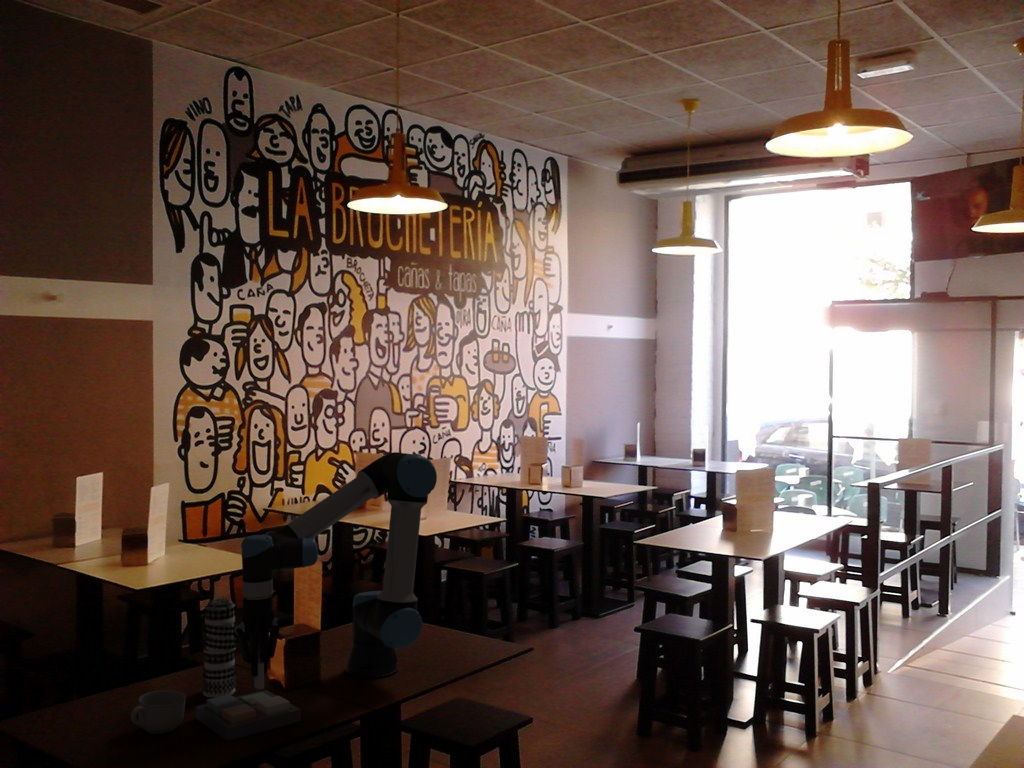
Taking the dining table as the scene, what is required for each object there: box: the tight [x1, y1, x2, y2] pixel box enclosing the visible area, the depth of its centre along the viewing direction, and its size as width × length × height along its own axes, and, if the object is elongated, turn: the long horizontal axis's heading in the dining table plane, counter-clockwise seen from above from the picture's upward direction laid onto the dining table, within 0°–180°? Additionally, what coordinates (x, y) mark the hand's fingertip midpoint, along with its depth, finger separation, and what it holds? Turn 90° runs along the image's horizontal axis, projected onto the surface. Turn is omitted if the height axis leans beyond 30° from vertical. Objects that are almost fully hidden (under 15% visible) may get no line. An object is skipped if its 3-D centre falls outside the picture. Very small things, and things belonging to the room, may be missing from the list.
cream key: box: [256, 695, 291, 716], centre depth 220 cm, size 6×6×3 cm
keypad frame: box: [195, 689, 302, 742], centre depth 221 cm, size 19×19×3 cm
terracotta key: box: [222, 704, 256, 725], centre depth 215 cm, size 6×6×3 cm
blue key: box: [206, 694, 240, 714], centre depth 221 cm, size 6×6×3 cm
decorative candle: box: [201, 598, 238, 699], centre depth 241 cm, size 9×9×25 cm
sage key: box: [241, 692, 271, 706], centre depth 227 cm, size 6×6×3 cm
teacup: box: [130, 689, 187, 735], centre depth 213 cm, size 14×11×8 cm
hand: (259, 687), depth 228 cm, fingers closed
